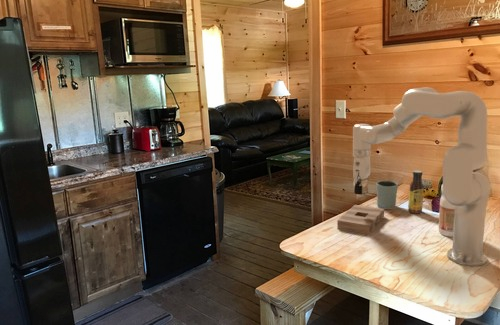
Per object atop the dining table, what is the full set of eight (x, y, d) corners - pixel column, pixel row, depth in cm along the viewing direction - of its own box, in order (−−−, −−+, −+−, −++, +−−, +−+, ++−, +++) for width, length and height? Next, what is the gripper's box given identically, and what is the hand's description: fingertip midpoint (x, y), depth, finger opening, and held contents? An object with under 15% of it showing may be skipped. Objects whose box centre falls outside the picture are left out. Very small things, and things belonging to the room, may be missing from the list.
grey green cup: (379, 201, 206) (379, 179, 203) (399, 204, 200) (400, 181, 197) (373, 208, 198) (373, 184, 195) (394, 211, 192) (394, 187, 189)
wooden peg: (365, 202, 174) (365, 181, 172) (351, 200, 177) (351, 179, 175) (369, 197, 179) (370, 177, 177) (356, 196, 182) (356, 176, 180)
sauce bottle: (413, 214, 186) (415, 173, 181) (405, 210, 192) (406, 170, 187) (425, 212, 187) (427, 172, 183) (416, 208, 193) (418, 169, 189)
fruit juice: (433, 230, 167) (436, 166, 161) (451, 227, 170) (455, 163, 164) (450, 239, 159) (454, 171, 152) (469, 235, 161) (474, 168, 155)
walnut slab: (368, 234, 168) (369, 225, 167) (337, 228, 176) (337, 220, 175) (384, 217, 185) (384, 208, 184) (354, 212, 193) (354, 204, 192)
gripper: (363, 157, 164) (362, 198, 168) (376, 149, 178) (375, 187, 182) (346, 155, 168) (345, 196, 173) (359, 147, 182) (359, 185, 186)
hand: (360, 191), depth 177 cm, fingers closed on wooden peg, 6 cm apart
